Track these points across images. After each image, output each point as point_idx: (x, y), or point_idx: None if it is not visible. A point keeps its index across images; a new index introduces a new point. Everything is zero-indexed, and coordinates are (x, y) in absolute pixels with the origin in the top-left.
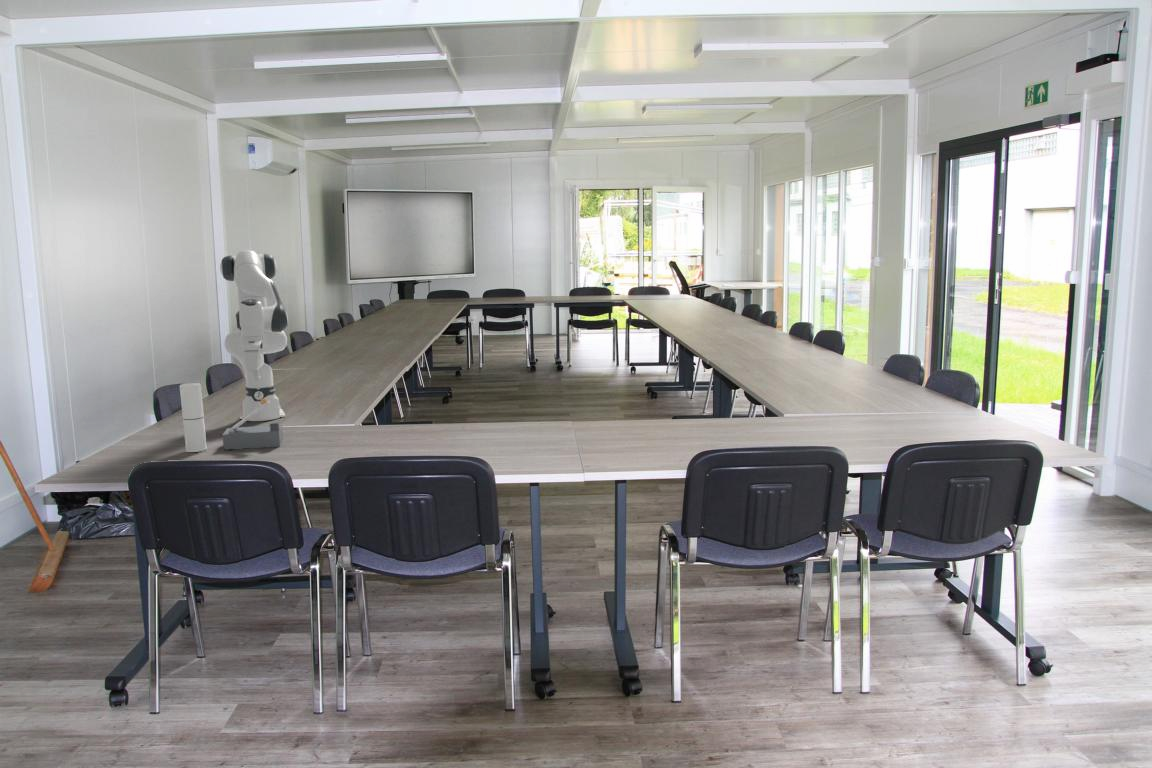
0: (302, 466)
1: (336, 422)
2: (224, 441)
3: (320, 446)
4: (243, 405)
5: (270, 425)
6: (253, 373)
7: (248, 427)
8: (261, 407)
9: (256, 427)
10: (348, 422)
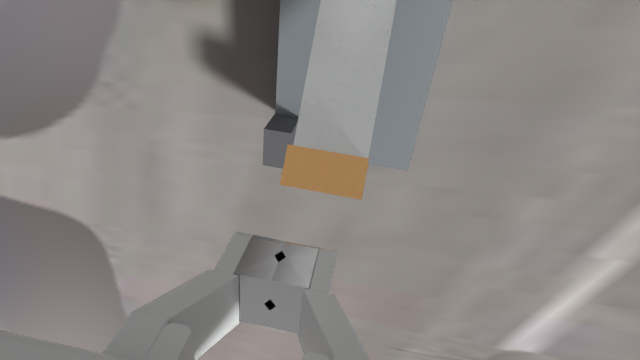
0: (23, 158)
1: (601, 327)
2: None
3: (249, 231)
4: None
5: (266, 127)
6: (170, 297)
7: (433, 3)
8: (296, 132)
9: (407, 50)
10: (568, 351)
